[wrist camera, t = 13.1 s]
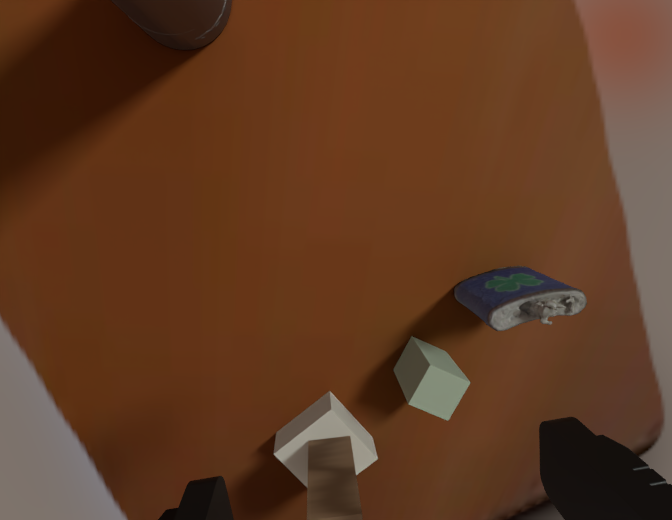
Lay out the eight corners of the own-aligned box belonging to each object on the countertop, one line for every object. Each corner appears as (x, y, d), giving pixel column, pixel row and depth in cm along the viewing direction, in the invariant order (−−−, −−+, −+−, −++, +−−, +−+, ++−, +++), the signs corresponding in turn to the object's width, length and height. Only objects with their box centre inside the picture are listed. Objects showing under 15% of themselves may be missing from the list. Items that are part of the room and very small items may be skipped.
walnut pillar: (312, 477, 42) (312, 566, 32) (308, 440, 41) (306, 520, 32) (353, 472, 42) (365, 559, 33) (350, 435, 42) (361, 513, 32)
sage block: (393, 369, 44) (408, 404, 38) (411, 336, 44) (430, 364, 37) (427, 384, 45) (448, 420, 38) (445, 351, 44) (470, 382, 37)
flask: (454, 304, 43) (501, 343, 33) (450, 279, 43) (496, 310, 32) (534, 285, 43) (605, 317, 33) (531, 260, 43) (603, 285, 32)
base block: (276, 430, 45) (273, 454, 41) (329, 389, 45) (331, 409, 41) (320, 474, 47) (321, 501, 43) (372, 435, 46) (377, 458, 42)
